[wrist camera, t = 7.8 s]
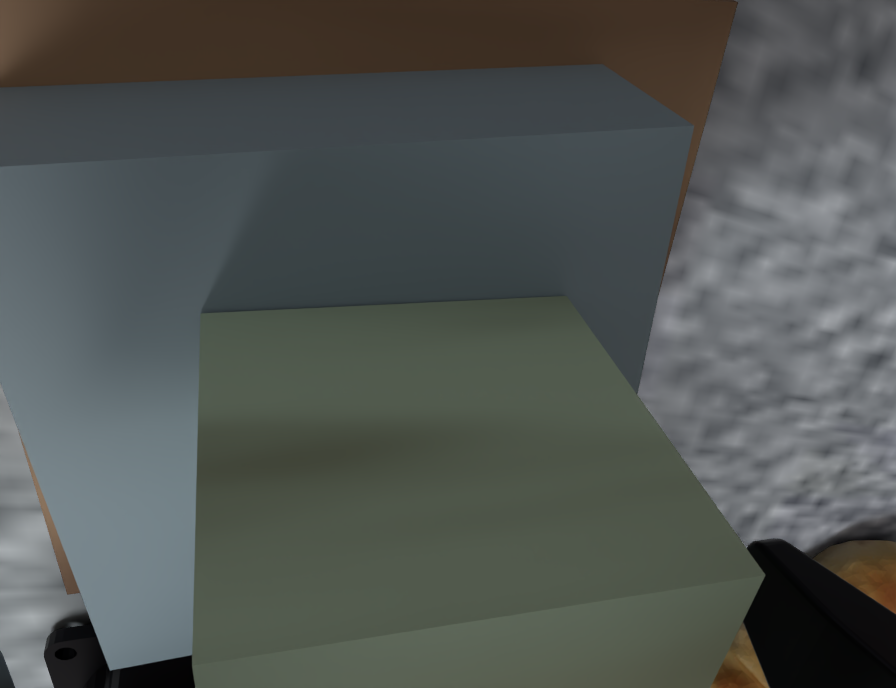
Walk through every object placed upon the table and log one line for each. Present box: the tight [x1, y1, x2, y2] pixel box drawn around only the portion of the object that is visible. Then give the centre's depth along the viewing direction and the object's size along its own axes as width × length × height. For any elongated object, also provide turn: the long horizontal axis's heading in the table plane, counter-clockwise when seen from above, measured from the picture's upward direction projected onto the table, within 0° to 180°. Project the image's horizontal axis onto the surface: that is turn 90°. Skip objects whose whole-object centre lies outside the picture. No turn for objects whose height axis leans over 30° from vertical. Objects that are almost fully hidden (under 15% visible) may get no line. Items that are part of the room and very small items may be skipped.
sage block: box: [192, 296, 765, 688], centre depth 10 cm, size 5×5×5 cm
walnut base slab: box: [0, 0, 738, 595], centre depth 15 cm, size 12×12×3 cm
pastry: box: [710, 540, 896, 688], centre depth 27 cm, size 9×7×4 cm
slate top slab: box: [0, 64, 694, 671], centre depth 13 cm, size 9×9×3 cm
